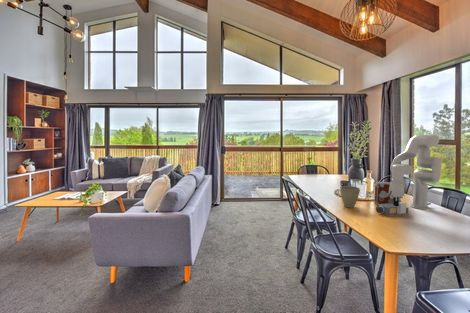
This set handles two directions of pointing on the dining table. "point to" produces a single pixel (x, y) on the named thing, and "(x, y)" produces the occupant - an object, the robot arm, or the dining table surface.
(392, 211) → the housing
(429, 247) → the dining table surface
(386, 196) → the dark red boxy piece
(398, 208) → the off-white foam block
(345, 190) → the plant pot
